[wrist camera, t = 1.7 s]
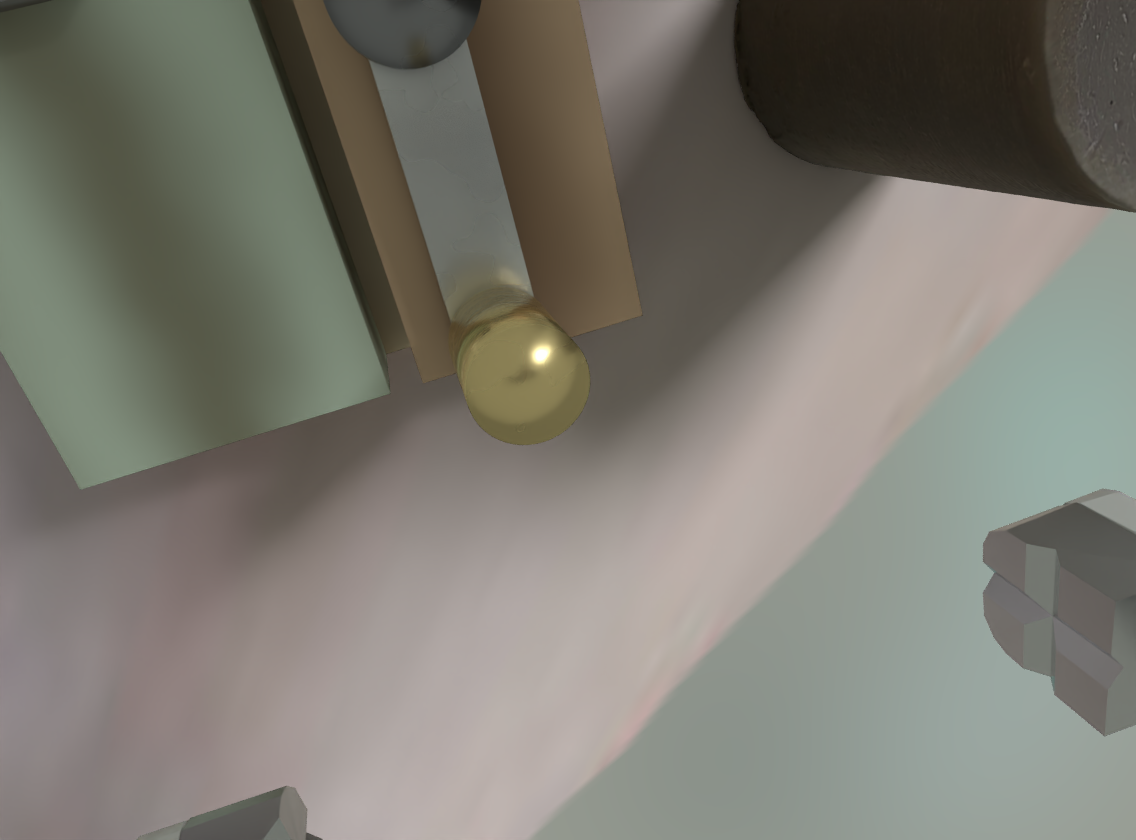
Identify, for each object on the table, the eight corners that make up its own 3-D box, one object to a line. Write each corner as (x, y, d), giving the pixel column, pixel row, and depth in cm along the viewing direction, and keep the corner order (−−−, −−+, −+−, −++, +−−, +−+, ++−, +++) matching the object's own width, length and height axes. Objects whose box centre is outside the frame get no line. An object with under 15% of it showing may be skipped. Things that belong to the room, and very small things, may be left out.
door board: (474, -254, 23) (516, -379, 17) (595, 278, 30) (655, 325, 24) (-152, -123, 21) (-361, -212, 15) (130, 418, 27) (66, 509, 21)
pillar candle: (694, 122, 28) (1006, 155, 15) (796, -191, 25) (1300, -500, 12) (909, 197, 32) (1324, 280, 18) (1021, -73, 29) (1615, -212, 15)
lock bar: (298, -76, 19) (279, -130, 14) (447, -110, 19) (474, -174, 15) (451, 394, 24) (473, 464, 19) (566, 359, 24) (613, 419, 20)
